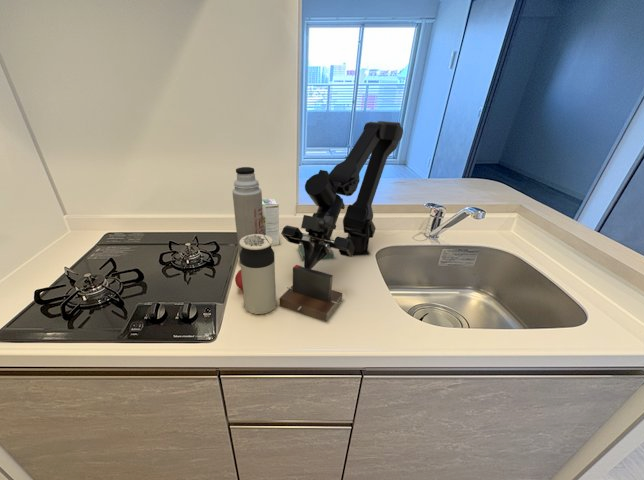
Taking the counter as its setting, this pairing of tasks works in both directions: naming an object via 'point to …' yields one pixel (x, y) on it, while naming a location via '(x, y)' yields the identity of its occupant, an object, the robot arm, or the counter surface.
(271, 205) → the syrup box
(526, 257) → the counter surface
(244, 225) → the thermos bottle
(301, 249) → the button box
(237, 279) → the onion
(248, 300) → the travel mug
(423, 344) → the counter surface
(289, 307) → the brown wooden base
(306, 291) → the lever
